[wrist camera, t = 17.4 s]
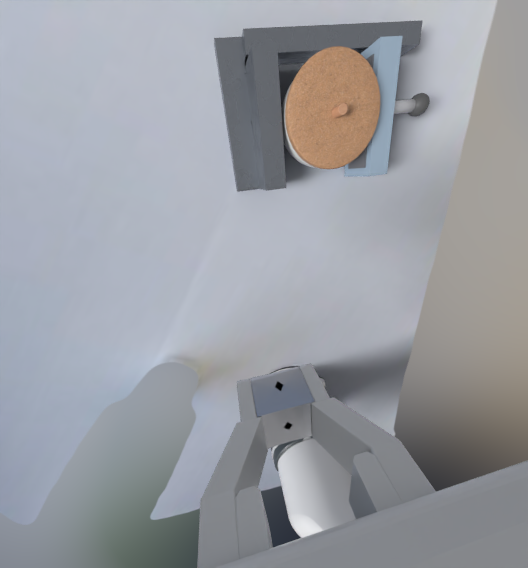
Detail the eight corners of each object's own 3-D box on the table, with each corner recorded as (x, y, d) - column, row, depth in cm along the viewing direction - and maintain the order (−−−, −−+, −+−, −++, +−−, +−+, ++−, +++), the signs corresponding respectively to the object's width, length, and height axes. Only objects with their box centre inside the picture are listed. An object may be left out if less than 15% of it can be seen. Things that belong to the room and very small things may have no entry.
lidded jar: (350, 154, 34) (395, 147, 25) (284, 182, 34) (307, 183, 25) (337, 63, 29) (387, 16, 21) (259, 94, 29) (277, 60, 20)
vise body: (387, 170, 36) (421, 169, 30) (236, 190, 33) (241, 193, 27) (403, 35, 29) (450, -1, 23) (214, 45, 26) (214, 7, 20)
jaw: (401, 168, 36) (435, 167, 30) (343, 176, 35) (367, 176, 29) (416, 59, 30) (461, 32, 25) (347, 63, 29) (379, 36, 23)
